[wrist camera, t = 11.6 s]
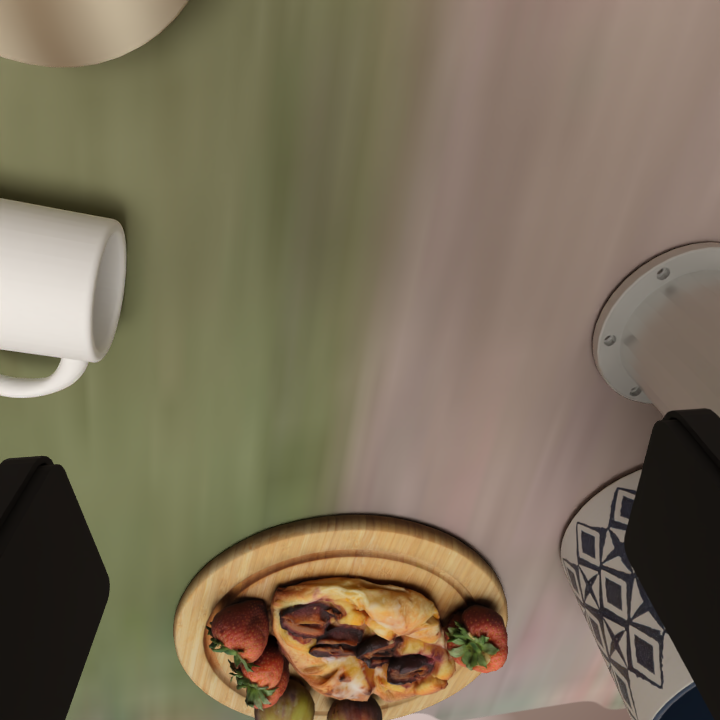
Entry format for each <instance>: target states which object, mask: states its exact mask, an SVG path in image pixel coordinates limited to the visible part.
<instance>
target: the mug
mask: <svg viewBox="0 0 720 720" xmlns="http://www.w3.org/2000/svg"><path fill="white" fill-rule="evenodd" d="M125 277H126V240H125V234H124V231H123V228H122V226H121V224H120V223H119V222H118V221H117V220H115V219H110V218H105V217H100V216H94V215H89V214H84V213H78V212H73V211H67V210H62V209H57V208H51V207H46V206H41V205H35V204H30V203H25V202H19V201H14V200H8V199H3V198H0V349H1V350H9V351H16V352H23V353H30V354H37V355H45V356H52V357H59V358H61V361H60V364H59V366H58V368H57V369H56V371H55V372H54V373H53V374H52V375H51V376H49V377H45V378H17V377H10V376H5V375H1V374H0V395H1V396H6V397H14V398H28V397H37V396H43V395H47V394H51V393H54V392H57V391H60V390H62V389H64V388H66V387H68V386H70V385H71V384H73V383H74V382H75V381H77V380H78V379H79V378H80V377H81V375H82V374H83V373H84V371H85V369H86V367H87V365H88V363H89V362H98V361H100V360H101V359H103V358H104V356H105V355H106V353H107V352H108V350H109V348H110V346H111V343H112V341H113V338H114V335H115V332H116V328H117V325H118V321H119V316H120V312H121V307H122V301H123V295H124V287H125Z"/></svg>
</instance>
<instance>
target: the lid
mask: <svg viewBox="0 0 720 720" xmlns="http://www.w3.org/2000/svg"><path fill="white" fill-rule="evenodd" d="M188 1H189V0H0V56H1V57H4V58H7V59H11V60H15V61H19V62H22V63H26V64H32V65H39V66H47V67H80V66H86V65H93V64H99V63H102V62H105V61H108V60H112V59H115V58H118V57H120V56H123V55H125V54H127V53H129V52H131V51H133V50H135V49H137V48H139V47H141V46H143V45H145V44H146V43H147V42H149V41H150V40H152V39H153V38H154V37H156V36H157V35H159V34H160V33H161V32H162V31H163V30H164V29H165V28H166V27H167V26H168V25H169V24H170V23H171V22H172V21H173V20H174V19H175V18H176V17H177V16H178V15H179V14H180V12H181V11H182V9H183V8H184V7H185V5H186V4H187V3H188Z"/></svg>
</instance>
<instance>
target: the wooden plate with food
mask: <svg viewBox="0 0 720 720" xmlns="http://www.w3.org/2000/svg"><path fill="white" fill-rule="evenodd" d="M507 620H508V613H507V601H506V598H505V595H504V591H503V588H502V585H501V583H500V581H499V579H498V578H497V576H496V574H495V572H494V571H493V570H492V568H491V567H490V566H489V565H488V564H487V563H486V562H485V561H484V560H483V559H482V558H481V557H480V556H479V555H478V554H477V553H476V552H475V551H473V550H472V549H470V548H469V547H468V546H466V545H465V544H464V543H462V542H461V541H459V540H457V539H456V538H454V537H452V536H450V535H448V534H446V533H444V532H441V531H439V530H437V529H434V528H431V527H428V526H425V525H422V524H419V523H415V522H412V521H408V520H403V519H399V518H393V517H386V516H376V515H334V516H324V517H317V518H311V519H306V520H300V521H296V522H292V523H288V524H284V525H280V526H276V527H273V528H271V529H268V530H265V531H262V532H260V533H257V534H255V535H253V536H251V537H249V538H247V539H245V540H243V541H241V542H239V543H237V544H235V545H234V546H232V547H230V548H229V549H227V550H226V551H224V552H223V553H221V554H220V555H218V556H217V557H216V558H214V559H213V560H212V561H210V562H209V563H208V564H207V565H206V566H205V567H204V568H203V569H202V570H201V571H200V572H199V573H198V574H197V575H196V576H195V578H194V579H193V580H192V581H191V583H190V584H189V586H188V587H187V589H186V590H185V592H184V593H183V595H182V598H181V600H180V602H179V604H178V606H177V609H176V613H175V618H174V625H173V636H174V642H175V648H176V652H177V655H178V658H179V660H180V663H181V665H182V666H183V668H184V670H185V671H186V673H187V674H188V675H189V676H190V678H191V679H192V680H193V681H194V683H195V684H196V685H197V686H198V687H200V688H201V689H202V690H203V691H204V692H205V693H206V694H208V695H209V696H211V697H212V698H214V699H215V700H217V701H218V702H220V703H222V704H224V705H226V706H228V707H230V708H232V709H234V710H236V711H238V712H241V713H243V714H246V715H249V716H252V717H255V720H390V719H394V718H398V717H402V716H405V715H409V714H412V713H414V712H417V711H420V710H422V709H425V708H427V707H429V706H432V705H434V704H436V703H438V702H440V701H442V700H444V699H446V698H448V697H450V696H451V695H453V694H455V693H456V692H458V691H459V690H461V689H462V688H464V687H465V686H466V685H468V684H469V683H470V682H472V681H473V680H474V679H475V678H476V677H477V676H479V675H480V674H481V673H488V672H491V671H496V670H498V669H499V668H501V667H502V666H503V664H504V663H505V661H506V659H507V654H508V646H507V632H506V626H507Z"/></svg>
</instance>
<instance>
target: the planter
mask: <svg viewBox="0 0 720 720" xmlns="http://www.w3.org/2000/svg"><path fill="white" fill-rule="evenodd" d="M641 472H642V469H641V470H638V471H636V472H634V473H631V474H629V475H627V476H625V477H623V478H621V479H619V480H617V481H616V482H614V483H612V484H611V485H609V486H607V487H606V488H604V489H603V490H602V491H600V492H599V493H598V494H596V495H595V496H594V497H593V498H592V499H591V500H589V501H588V502H587V503H586V504H585V505H584V506H583V507H582V508H581V509H580V511H579V512H578V513H577V514H576V516H575V517H574V518H573V520H572V521H571V523H570V525H569V526H568V528H567V530H566V532H565V535H564V538H563V540H562V546H561V563H562V566H563V568H564V571H565V573H566V576H567V578H568V580H569V583H570V585H571V587H572V589H573V592H574V594H575V596H576V598H577V600H578V603H579V605H580V607H581V609H582V612H583V614H584V616H585V618H586V620H587V623H588V625H589V627H590V629H591V631H592V634H593V636H594V638H595V640H596V642H597V645H598V647H599V649H600V651H601V654H602V656H603V658H604V660H605V662H606V664H607V667H608V669H609V671H610V673H611V675H612V678H613V680H614V682H615V684H616V686H617V689H618V691H619V693H620V695H621V697H622V700H623V702H624V704H625V706H626V708H627V711H628V713H629V715H630V717H631V719H632V720H714V718H713V716H712V715H711V713H710V711H709V709H708V707H707V705H706V703H705V702H704V700H703V698H702V696H701V694H700V692H699V690H698V689H697V687H696V685H695V683H694V681H693V679H692V677H691V676H690V674H689V672H688V670H687V668H686V666H685V664H684V663H683V661H682V659H681V657H680V655H679V653H678V651H677V650H676V648H675V646H674V644H673V642H672V640H671V638H670V637H669V635H668V633H667V631H666V629H665V627H664V625H663V624H662V622H661V620H660V618H659V616H658V614H657V612H656V611H655V609H654V607H653V605H652V603H651V601H650V599H649V598H648V596H647V594H646V592H645V590H644V588H643V586H642V585H641V583H640V581H639V579H638V577H637V575H636V573H635V572H634V570H633V568H632V566H631V564H630V562H629V560H628V558H627V555H626V552H625V547H624V537H625V532H626V529H627V525H628V521H629V517H630V513H631V510H632V506H633V502H634V498H635V494H636V491H637V487H638V483H639V479H640V476H641Z"/></svg>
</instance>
